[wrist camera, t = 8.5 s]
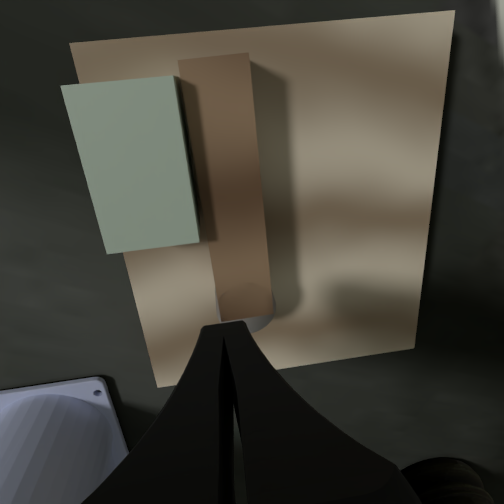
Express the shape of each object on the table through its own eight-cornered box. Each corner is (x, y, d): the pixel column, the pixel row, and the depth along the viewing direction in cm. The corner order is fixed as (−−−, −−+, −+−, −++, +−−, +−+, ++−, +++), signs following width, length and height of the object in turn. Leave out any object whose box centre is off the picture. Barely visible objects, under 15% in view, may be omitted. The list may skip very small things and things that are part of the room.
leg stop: (200, 216, 18) (199, 242, 15) (122, 225, 17) (106, 254, 14) (178, 76, 15) (173, 75, 12) (87, 85, 15) (60, 85, 12)
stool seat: (398, 328, 25) (414, 348, 23) (161, 364, 23) (157, 387, 22) (428, 18, 17) (455, 10, 15) (84, 47, 16) (69, 43, 14)
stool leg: (271, 306, 20) (278, 329, 18) (219, 314, 20) (220, 338, 18) (246, 55, 15) (253, 51, 13) (176, 63, 15) (173, 60, 13)
